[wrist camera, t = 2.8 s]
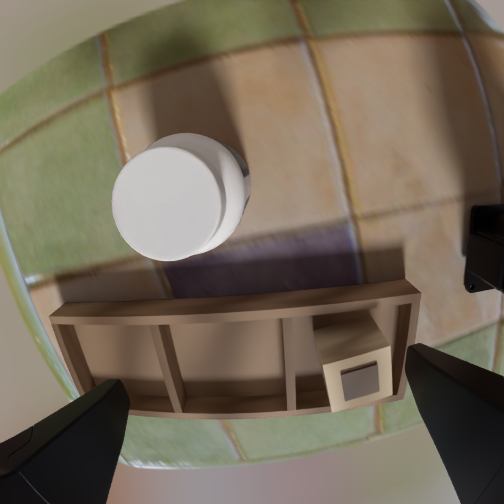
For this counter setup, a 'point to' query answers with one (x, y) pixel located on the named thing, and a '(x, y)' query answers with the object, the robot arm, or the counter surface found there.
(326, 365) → the tan hollow cube
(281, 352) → the bay tray
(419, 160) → the counter surface
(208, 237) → the pill bottle
